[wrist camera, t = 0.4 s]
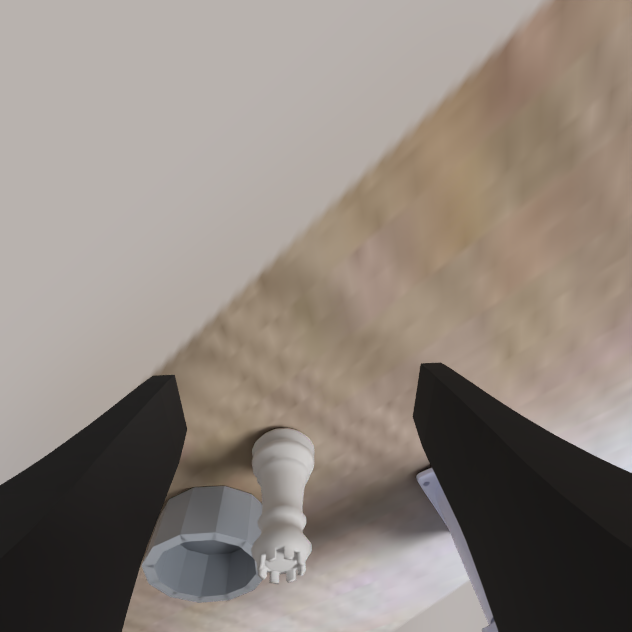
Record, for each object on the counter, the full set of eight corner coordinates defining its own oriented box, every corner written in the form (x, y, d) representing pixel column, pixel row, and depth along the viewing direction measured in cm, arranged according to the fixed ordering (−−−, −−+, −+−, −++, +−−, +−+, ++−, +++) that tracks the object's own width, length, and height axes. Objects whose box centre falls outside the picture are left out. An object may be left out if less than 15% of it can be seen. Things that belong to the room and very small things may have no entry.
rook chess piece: (326, 437, 24) (341, 557, 17) (294, 476, 26) (296, 600, 19) (271, 415, 23) (263, 534, 16) (241, 456, 25) (221, 582, 17)
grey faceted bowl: (288, 529, 29) (288, 575, 25) (206, 565, 30) (196, 613, 27) (227, 471, 25) (218, 517, 22) (137, 514, 26) (116, 563, 23)
